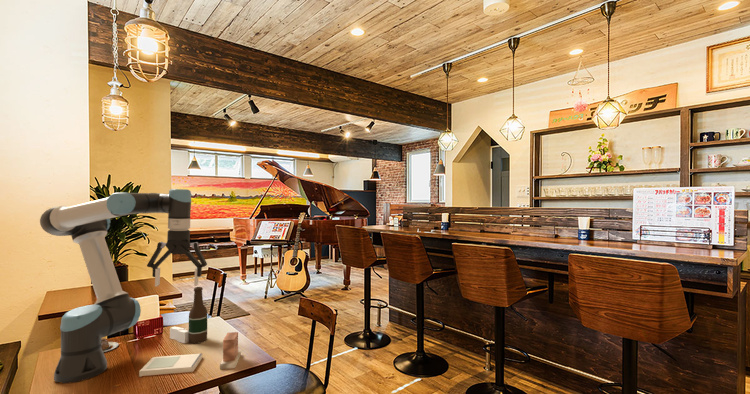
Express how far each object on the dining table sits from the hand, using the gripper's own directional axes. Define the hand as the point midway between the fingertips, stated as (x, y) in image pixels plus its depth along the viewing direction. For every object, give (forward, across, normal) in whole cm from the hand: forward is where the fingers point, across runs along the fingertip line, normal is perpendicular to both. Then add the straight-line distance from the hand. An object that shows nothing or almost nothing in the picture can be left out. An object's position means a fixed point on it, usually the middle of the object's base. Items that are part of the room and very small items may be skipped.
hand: (176, 285), depth 139 cm
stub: (+30, +20, -1) cm, 36 cm away
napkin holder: (+32, -6, +28) cm, 43 cm away
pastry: (+33, -36, +25) cm, 55 cm away
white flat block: (+31, 0, 0) cm, 31 cm away
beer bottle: (+32, +2, +26) cm, 41 cm away
